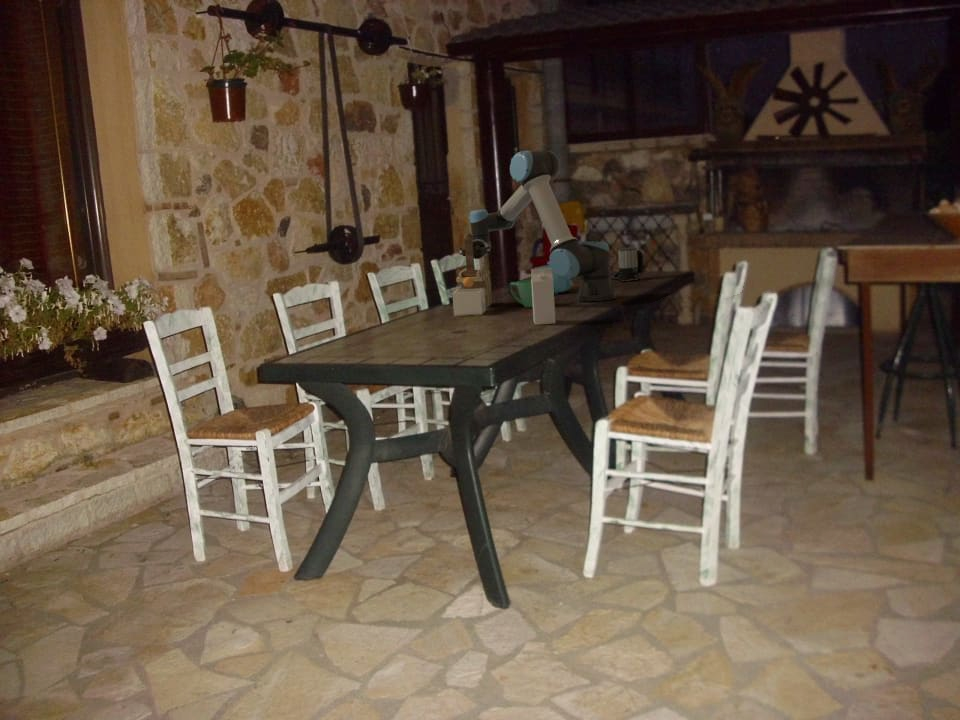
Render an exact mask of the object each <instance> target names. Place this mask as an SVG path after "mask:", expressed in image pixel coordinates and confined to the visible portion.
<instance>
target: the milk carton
mask: <svg viewBox="0 0 960 720" xmlns="http://www.w3.org/2000/svg"><path fill="white" fill-rule="evenodd" d="M530 272H531V273H530V280H531V286H532V302H533V307H532V319H533V323H534V325H536V326H537V325H539V326H540V325H548V324H549V325H551V324H552V325H553V324H556V309H555V295H554V288H553V276H552V268H544V269H534V268H532V269H530Z"/></svg>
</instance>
